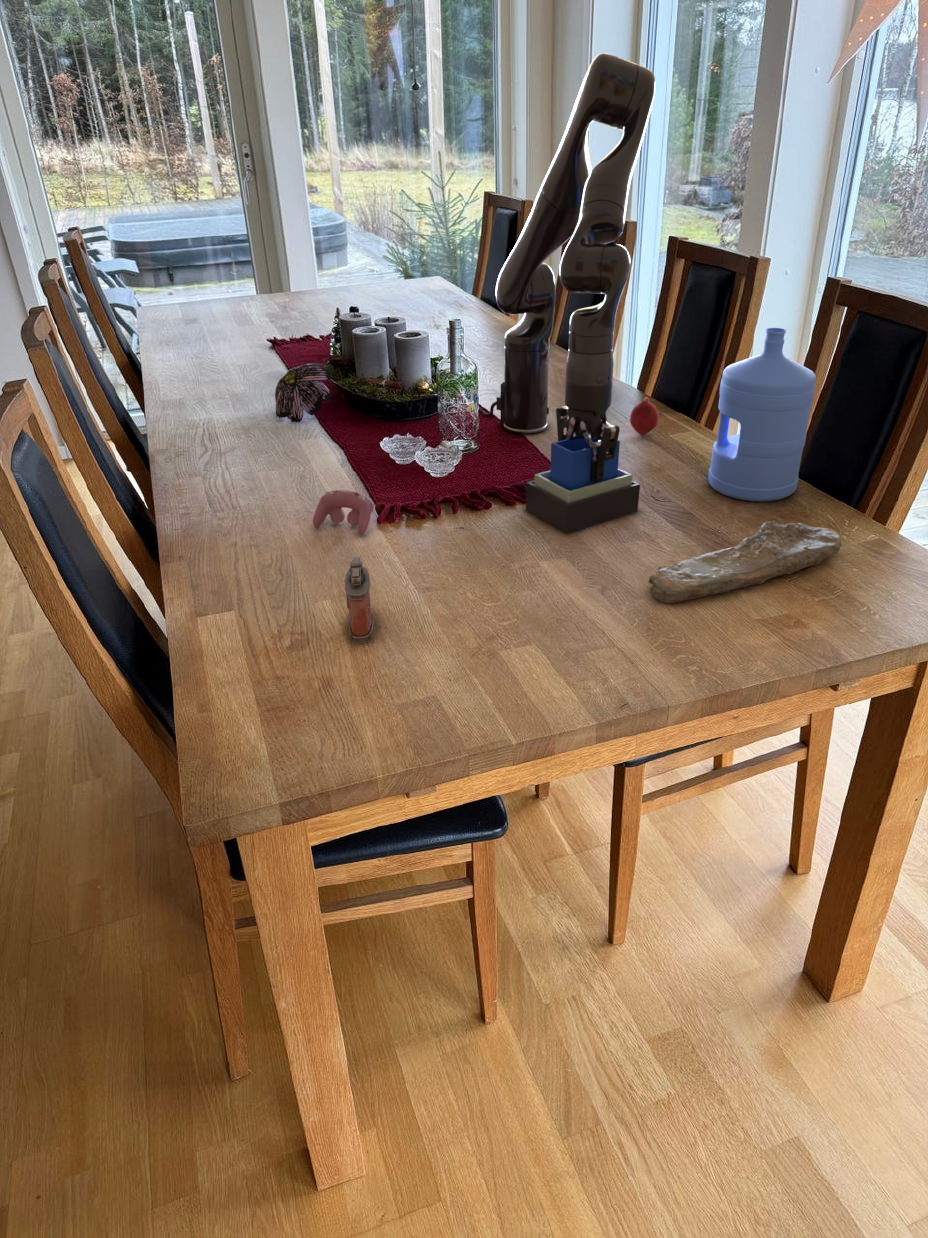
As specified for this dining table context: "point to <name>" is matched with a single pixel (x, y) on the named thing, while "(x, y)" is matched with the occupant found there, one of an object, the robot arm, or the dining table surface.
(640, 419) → the onion
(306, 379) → the decorative flower
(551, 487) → the middle bin
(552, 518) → the outer bin
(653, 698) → the dining table surface
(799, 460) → the water jug
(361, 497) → the video game controller
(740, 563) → the elongated rock
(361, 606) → the lighter
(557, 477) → the blue bin
